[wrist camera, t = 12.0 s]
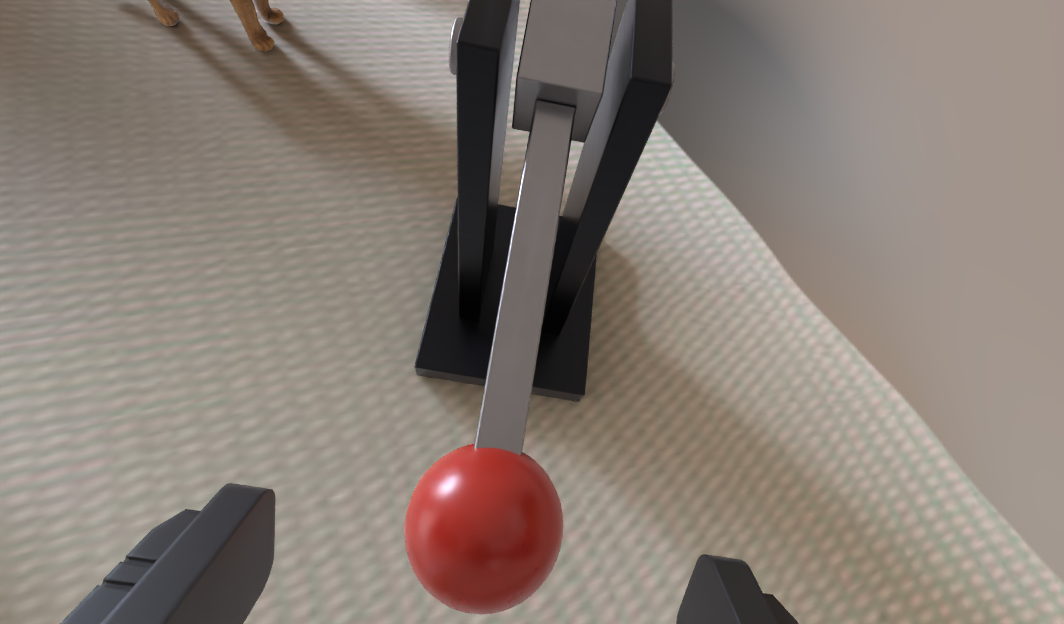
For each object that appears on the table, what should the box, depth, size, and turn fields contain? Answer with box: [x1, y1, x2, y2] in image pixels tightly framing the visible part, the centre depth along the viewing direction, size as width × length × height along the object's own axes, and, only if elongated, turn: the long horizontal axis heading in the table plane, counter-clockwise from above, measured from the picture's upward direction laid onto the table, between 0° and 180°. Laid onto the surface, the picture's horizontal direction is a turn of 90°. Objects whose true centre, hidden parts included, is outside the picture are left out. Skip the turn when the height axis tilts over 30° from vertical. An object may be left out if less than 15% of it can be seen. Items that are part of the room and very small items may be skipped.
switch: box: [405, 0, 617, 614], centre depth 13 cm, size 15×4×4 cm, turn 172°
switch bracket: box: [415, 0, 675, 402], centre depth 19 cm, size 10×8×16 cm
